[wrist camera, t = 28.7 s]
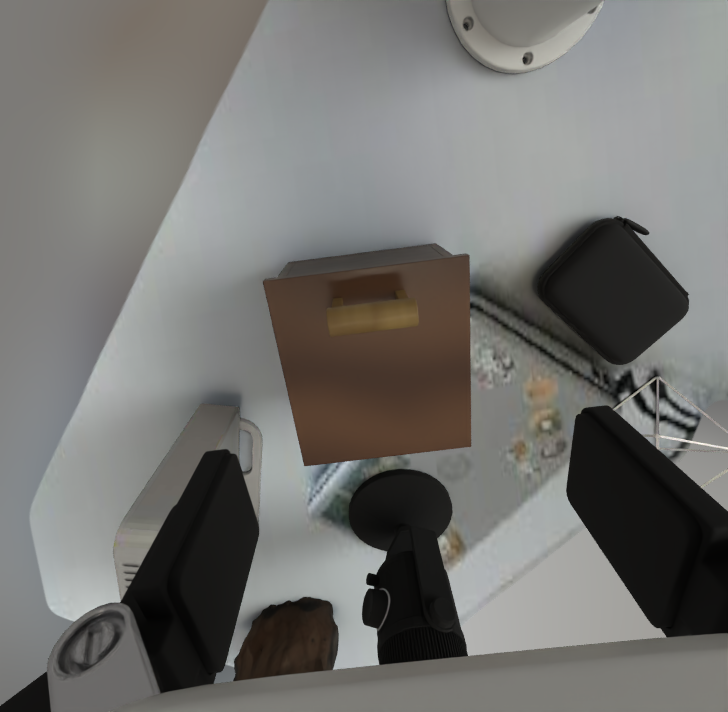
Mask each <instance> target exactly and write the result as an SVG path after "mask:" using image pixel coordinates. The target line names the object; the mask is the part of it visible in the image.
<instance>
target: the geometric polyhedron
mask: <svg viewBox="0 0 728 712" xmlns="http://www.w3.org/2000/svg"><path fill="white" fill-rule="evenodd" d="M656 379H657V411H656V434H655V435H642V436H643V437H656V448H657V449H658V450H677V451H697V452H717V453H728V451H716V450H693V449H673V448H659V438H666V439H671V440H677V441H682V442H688V443H693V444H699V445H704V446H710V447H715V448H721V449H726V450H728V447H722V446H717V445H711V444H706V443H700V442H694V441H689V440H684V439H678V438H673V437H667V436H662V435H659V379H660V380H661V381H662V382H664V383H665V384H666V385H667V386H669V387H670V388H671V389H672V390H674V391H675V392H676V393H677V394H679V395H680V396H681V397H682V398H684V399H685V400H686V401H687V402H689V403H690V404H691V405H692V406H693V407H695V408H696V409H697V410H698V411H700V412H701V413H702V414H703V415H705V416H706V417H707V418H708V419H710V420H711V421H712V422H714V423H715V424H716V425H717V426H719V427H720V428H721V429H722V430H723V431H725V432H726V433H727V434H728V431H727V430H726V429H724V428H723V427H722V426H721V425H719V424H718V423H717V422H716V421H714V420H713V419H712V418H711V417H709V416H708V415H707V414H706V413H704V412H703V411H702V410H701V409H699V408H698V407H697V406H696V405H694V404H693V403H692V402H691V401H689V400H688V399H687V398H686V397H684V396H683V395H682V394H681V393H679V392H678V391H677V390H676V389H674V388H673V387H672V386H671V385H669V384H668V383H667V382H666V381H665V380H663V379H662V378H661V377H655V378H653V379H652V380H651V381H649V382H648V383H647V384H645V385H644V386H643V387H641V388H640V389H639V390H638V391H636V392H635V393H634V394H632V395H631V396H630V397H628V398H627V399H626V400H624V401H623V402H622V403H620V404H619V405H618V406H616V407H615V408H614V409H613V410H616V409H617V408H618V407H620V406H621V405H622V404H624V403H625V402H626V401H628V400H629V399H630V398H632V397H633V396H634V395H636V394H637V393H638V392H640V391H641V390H642V389H644V388H645V387H646V386H648V385H649V384H650V383H652V382H653V381H654V380H656ZM726 472H728V469H726V470H725V471H723V472H722V473H720V474H718V475H717V476H715V477H714V478H712V479H711V480H709V481H708V482H706V483H705V484H703V485H701V486H700V487H701V488H703V487H704V486H706V485H707V484H709V483H710V482H712V481H714V480H715V479H717V478H718V477H720V476H721V475H723V474H724V473H726Z"/></svg>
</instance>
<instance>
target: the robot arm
mask: <svg viewBox="0 0 728 712" xmlns="http://www.w3.org/2000/svg"><path fill="white" fill-rule="evenodd" d="M603 2H604V0H446V3H447V8H448V14H449V17H450V20H451V23H452V25H453V28H454V31H455V33H456V35H457V36H458V38H459V40H460V42H461V43H462V45H463V46H464V48H465V49H466V50H467V51H468V52H469V53H470V54H471V56H472V57H473V58H475V59H476V60H477V61H479V62H480V63H482V64H483V65H484V66H486V67H488V68H491V69H493V70H496V71H498V72H504V73H511V74H515V73H527V72H530V71H533V70H537V69H540V68H542V67H544V66H546V65H548V64H550V63H552V62H553V61H555V60H557V59H558V58H559V57H561V56H562V55H564V54H565V53H567V52H568V51H569V50H570V49H571V48H572V47H573V46H574V45H575V44H576V43H577V42H578V41H580V39H581V38H582V37H583V35H584V34H585V33H586V32H587V30H588V29H589V28H590V26H591V25H592V23H593V22H594V20H595V18H596V17H597V15H598V13H599V11H600V9H601V7H602V5H603ZM463 24H467V25H468V30H465V29H464V28H463ZM522 58H525V59H526V63H525V64H524V63H523V61H522ZM566 492H567V497H568V500H569V502H570V504H571V505H572V507H573V508H574V510H575V511H576V513H577V514H578V516H579V517H580V519H581V520H582V522H583V523H584V525H585V526H586V528H587V529H588V531H589V532H590V534H591V535H592V537H593V538H594V540H595V541H596V543H597V544H598V546H599V547H600V549H601V550H602V552H603V553H604V555H605V556H606V558H607V559H608V560H609V562H610V563H611V565H612V566H613V568H614V569H615V571H616V572H617V574H618V575H619V577H620V578H621V580H622V581H623V583H624V584H625V586H626V587H627V589H628V590H629V592H630V593H631V595H632V596H633V598H634V599H635V601H636V602H637V604H638V605H639V607H640V608H641V610H642V611H643V613H644V614H645V616H646V617H647V619H648V620H649V621H650V623H651V624H652V625H653V626H654V627H656V628H661V629H662V631H663V632H664V634H665V635H666V638H653V639H642V640H630V641H620V642H609V643H598V644H588V645H577V646H566V647H556V648H545V649H535V650H524V651H515V652H504V653H494V654H485V655H474V656H464V657H454V658H444V659H434V660H424V661H414V662H404V663H394V664H385V665H375V666H366V667H356V668H347V669H338V670H328V671H319V672H309V673H300V674H290V675H281V676H272V677H264V678H257V679H249V680H241V681H233V682H225V683H217V684H214V680H215V676H216V673H218V672H221V671H222V670H223V669H224V666H225V663H226V660H227V656H228V652H229V648H230V644H231V641H232V637H233V633H234V629H235V625H236V621H237V618H238V614H239V610H240V606H241V602H242V598H243V594H244V591H245V587H246V583H247V579H248V575H249V571H250V568H251V564H252V560H253V556H254V552H255V548H256V545H257V541H258V536H259V524H258V520H257V517H256V514H255V511H254V508H253V504H252V501H251V498H250V495H249V492H248V489H247V486H246V482H245V479H244V476H243V473H242V470H241V467H240V464H239V460H238V457H237V455H236V454H234V453H233V454H231V453H230V451H229V450H228V449H221V450H213V451H207V452H205V453H204V455H203V456H202V458H201V460H200V462H199V464H198V466H197V468H196V469H195V471H194V473H193V475H192V477H191V479H190V481H189V482H188V484H187V486H186V488H185V490H184V492H183V494H182V495H181V497H180V499H179V501H178V503H177V504H176V505H175V506H173V508H172V509H171V511H170V512H169V514H168V516H167V518H166V519H165V521H164V523H163V525H162V527H161V529H160V530H159V532H158V534H157V536H156V538H155V540H154V541H153V543H152V545H151V547H150V549H149V551H148V552H147V554H146V556H145V558H144V560H143V562H142V563H141V565H140V567H139V569H138V571H137V573H136V574H135V576H134V578H133V580H132V582H131V584H130V585H129V587H128V589H127V591H126V593H125V595H124V596H123V598H122V600H121V602H120V603H109V604H105V605H102V606H99V607H97V608H95V609H93V610H91V611H89V612H87V613H86V614H84V615H83V616H82V617H80V618H79V619H78V620H76V621H75V622H74V623H73V624H72V625H71V626H70V627H69V628H68V629H67V630H66V631H65V632H64V633H63V634H62V636H61V637H60V638H59V640H58V641H57V643H56V644H55V645H54V647H53V649H52V652H51V654H50V656H49V658H48V666H47V672H45V673H44V674H43V675H41V676H40V677H39V678H37V679H36V680H35V681H33V682H32V683H31V684H29V685H28V686H27V687H25V688H24V689H22V690H21V691H20V692H19V693H17V694H16V695H14V696H13V697H12V698H11V699H9V700H8V701H6V702H5V703H4V704H2V705H1V706H0V712H728V511H727V510H726V509H724V508H723V507H722V506H721V505H720V504H719V503H718V502H717V501H715V500H714V499H713V498H712V497H711V496H710V495H709V494H707V493H706V492H705V491H704V490H703V489H702V488H701V487H700V486H699V485H697V484H696V483H695V482H694V481H693V480H692V479H691V478H689V477H688V476H687V475H686V474H685V473H684V472H683V471H682V470H681V469H679V468H678V467H677V466H676V465H675V464H674V463H673V462H672V461H670V460H669V459H668V458H667V457H666V456H665V455H664V454H663V453H661V452H660V451H659V450H658V449H657V448H656V447H655V446H654V445H652V444H651V443H650V442H649V441H648V440H647V439H646V438H645V437H643V436H642V435H641V434H640V433H639V432H638V431H637V430H636V429H634V428H633V427H632V426H631V425H630V424H629V423H628V422H627V421H625V420H624V419H623V418H622V417H621V416H620V415H619V414H618V413H616V412H615V411H614V410H613V409H612V408H611V407H609V406H597V407H588V408H584V409H583V410H582V412H581V414H578V415H577V416H576V419H575V426H574V433H573V441H572V449H571V457H570V465H569V472H568V480H567V488H566Z"/></svg>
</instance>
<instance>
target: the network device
mask: <svg viewBox="0 0 728 712" xmlns="http://www.w3.org/2000/svg"><path fill="white" fill-rule="evenodd" d="M239 430H245V431H248V432H249V433H250V434H251V435H252V437H253V457H252V469H251V470H250V471H248V472H242V473H243V476H244V479H245V482H246V486H247V489H248V492H249V495H250V498H251V501H252V504H253V508H254V511H255V514H256V517H257V520H258V522H259V503H260V481H261V459H262V435H261V432H260V430H259V429H258V427H257V426H256V425H255V424H253V423H252V422H250V421H248V420H246V419H243V418H240V411H239V407H233V406H223V405H213V404H203V403H202V404H200V405H199V407H198V408H197V410H196V411H195V413H194V414H193V416H192V417H191V419H190V420H189V422H188V423H187V425H186V426H185V428H184V429H183V431H182V432H181V434H180V435H179V437H178V438H177V440H176V441H175V443H174V444H173V446H172V447H171V449H170V450H169V452H168V453H167V455H166V456H165V458H164V459H163V461H162V462H161V464H160V465H159V466H158V468H157V469H156V471H155V472H154V474H153V475H152V477H151V478H150V480H149V481H148V483H147V484H146V486H145V487H144V489H143V490H142V492H141V493H140V495H139V496H138V498H137V499H136V501H135V502H134V504H133V505H132V507H131V508H130V510H129V511H128V513H127V514H126V516H125V517H124V519H123V520H122V522H121V524H120V526H119V529H118V531H117V534H116V538H115V542H114V548H113V555H114V562H115V568H116V574H117V580H118V586H119V593H120V599H121V600H122V598H123V596H124V595H125V593H126V591H127V589H128V587H129V585H130V584H131V582H132V580H133V578H134V576H135V574H136V573H137V571H138V569H139V567H140V565H141V563H142V562H143V560H144V558H145V556H146V554H147V552H148V551H149V549H150V547H151V545H152V543H153V541H154V540H155V538H156V536H157V534H158V532H159V530H160V529H161V527H162V525H163V523H164V521H165V519H166V518H167V516H168V514H169V512H170V511H171V509H172V508H173V506H175V505H176V504H177V503H178V501H179V499H180V497H181V495H182V494H183V492H184V490H185V488H186V486H187V484H188V482H189V481H190V479H191V477H192V475H193V473H194V471H195V469H196V468H197V466H198V464H199V462H200V460H201V458H202V456H203V455H204V453H205V452H207V451H213V450H221V449H228V450H229V451H230V453H231V454H233V453H234V454H236V455H237V457H238V460H239Z"/></svg>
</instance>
